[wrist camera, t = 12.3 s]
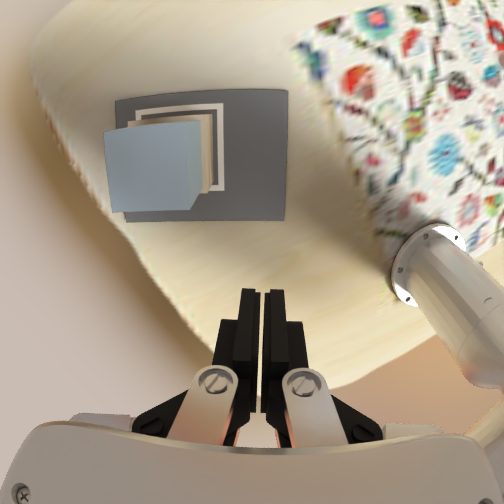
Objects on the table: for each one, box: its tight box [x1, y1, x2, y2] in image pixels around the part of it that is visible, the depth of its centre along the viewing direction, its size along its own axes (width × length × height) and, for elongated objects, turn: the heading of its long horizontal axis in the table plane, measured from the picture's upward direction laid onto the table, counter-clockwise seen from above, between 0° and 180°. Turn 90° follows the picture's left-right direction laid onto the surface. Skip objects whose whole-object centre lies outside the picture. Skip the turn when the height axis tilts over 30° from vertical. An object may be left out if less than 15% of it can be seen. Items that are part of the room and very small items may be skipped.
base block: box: [128, 114, 214, 193], centre depth 26 cm, size 7×7×5 cm
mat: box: [115, 90, 288, 223], centre depth 29 cm, size 18×14×1 cm
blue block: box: [104, 120, 202, 213], centre depth 21 cm, size 6×6×6 cm
